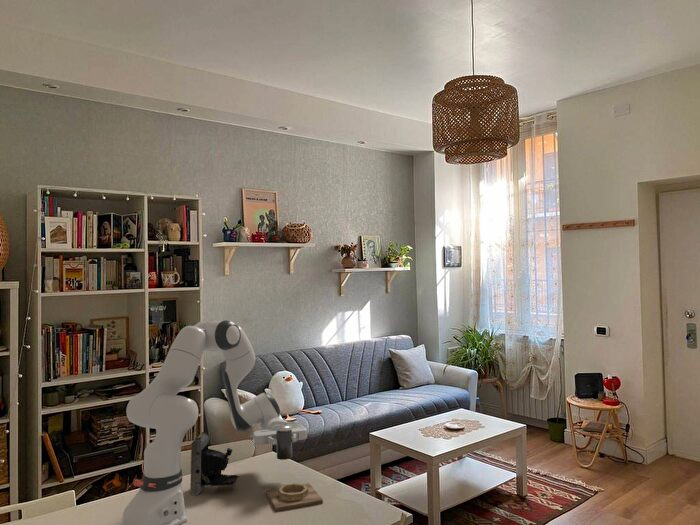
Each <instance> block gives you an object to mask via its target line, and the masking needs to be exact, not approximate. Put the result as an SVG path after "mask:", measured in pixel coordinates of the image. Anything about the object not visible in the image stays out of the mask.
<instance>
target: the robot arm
mask: <svg viewBox="0 0 700 525" xmlns="http://www.w3.org/2000/svg"><path fill="white" fill-rule="evenodd" d="M204 351H206V352H207V351H208V352H209V351H210V352H217V351H218V352H219V351H221V352H222V355H223V356H224V359H225V363H226V366H225V370H224V372H223V373H222V381H223V386H224V390H225V394H226V395H225V396H226V398H227V404H228V408H229V412H230V413H229V414H230V420H231V423H232V426H233V427H234V429H235V430H236V431H239V432H247V431H249V430H250V429H252V428H253V427H255V426H256V425H257V426H258V429H259V430H255V431H253V433H251V434H249V437H250V438H251V439H252V441H253V444H254V445H255V446H262V445H269V444H270V445H273V446H277V439H276V426H278V425H291V426H292V443H297V441H301V440H303V441H304V440H306V439H307V438H308V430H307V428H306V427H305V426H304V425H302V424H301V423H299V422H298V420H285V419H281V418H280V415H281V409H280V407H279V406H280V405H279V403H278V402H277V400H276V399H275V398H274V397H273V396H272V394H270V393H269V392H268V393H267V392H261V393H260V394H258V395H256V396H254V397H253V398H251V399H250V400H248V401H246V402H244V403H240V398H239V393H238V387H239V385H240V383H241V382H242V381H243V380H244V379H245V377H247V375H248V374H249V373H250V372H251V371H252V370H253V368H254V367H255V363H256V359H257V358H256V353H255V350H254V348H253V345H252V343H251V342H250V339H249V337H248V335H247V334H246V333H245V330H244V329H243V328H242V327H241V326H240V325H237V323H236V322H234V321H231V320H225V319H224V320H215V319H214V320H213V319H212V320H204V321H196V322H194V323H192V324H190V325H186V326H184V327H183V328H181V330H179V332H178V334H177V335H176V337H175V339H174V340H173V342H172V343H171V346H170V348H169V350H168V353H167V355H166V356H165V359H164V361H163V362H162V363H163V364H162V365H161V368H160V370H159V371H158V372H157V374H156V376H155V377H154V379H153V380H152V381H151V382H150V383H149V384H148V385H147V386H146V387H145V388H144V389H143V390H141V392H139V393H137V394H135V395H134V396H132V397H130V399H129V401H128V403H127V406H126V408H125V409H126V418H127V419H128V421H129V422H130V423H132V424H134V425H136V426H138V427H141V428H147V429H155V432H156V433H155V438H154V440H153V441H152V442H150V443H149V444H147V446H146V447H145V448H144V452H143V456H144V458H143V459H144V460H143V466H144V467H143V468H144V469H143V470H144V472H143V475H142V478H141V479H138V478H136V479H134V481H133V486H134V487H139V490H138V491H137V492H136V493H135V495H134V496H133V497H132V499H131V500H130V502H128V504H127V505H126V506H125V508H124V509H123V512H122V520H121V522H120V523H119V524H118V525H181V524H183V523H185V522H186V521H188V516H187V510H186V507H185V499H184V493H183V492H184V491H183V489H182V481H183V470H182V468H181V462H182V461H181V458H182V456H181V455H182V444H183V441H184V438H185V436H186V434H187V432H188V431H189V430H190V429H191V428H193V427H194V425H196V422H197V421H198V418H199V407H198V405H197V402H196V401H195V400H193V399H191V398H188V397H186V396H184V395H178V393H180V391H182V390H183V389H185V388H187V387H188V386H190V385H191V384H192V382H193V381H194V379H195V376H196V374H197V371H198V368H199V367H200V363H201V361H202V359H203V354H204V353H205V352H204Z"/></svg>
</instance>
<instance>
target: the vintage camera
mask: <svg viewBox="0 0 700 525" xmlns="http://www.w3.org/2000/svg"><path fill="white" fill-rule="evenodd" d="M209 439H210V436H209V434H208V433H207V432H204V431H201V433H200V434H199V435H198V436H197V437H196V438H194V440H193V441H192V443H191V445H190V446H191V450H190V451H191V454H190V493H191V495H192V496H198V495H199V494H200V493H201V492H202V491H203V489H204V488H205V487H218V486H219V487H221V486H232V491H234V486H235V484H236V483H237V481H238V479H239V478H240V475H238V474H223V473H222V471H223V472H224V471H226V468H227V467H228V464H229V460H230V458H229V457H230V456H231V455H232V452H233V448H230V447H228V448H226V452H225V453H224V452H222V451H219V450H215V449H211V448H209V442H210V440H209Z"/></svg>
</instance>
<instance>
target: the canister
mask: <svg viewBox="0 0 700 525" xmlns="http://www.w3.org/2000/svg"><path fill="white" fill-rule="evenodd" d="M276 439H277V444H276V459H277V460H279V461H280V460H281V461H283V460H285V461H287V460H290V459H292V458H293V442H292V426H291V425H278V426H276Z"/></svg>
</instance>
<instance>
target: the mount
mask: <svg viewBox="0 0 700 525" xmlns="http://www.w3.org/2000/svg"><path fill="white" fill-rule="evenodd" d="M265 495H266V496H267V499H268V500H269V502H270V503H271V505H272V507H273V509H274V511H275V512H279V511H280V512H281V511H287V510H291V509H298V508H304V507H308V506H314V505H318V504H319V505H320V504H323V503H324V502H323V501H324V500H323V498H322V497H321V496H320V494H319V493H318V492H317V491H316V490H315V488H314V487H313V486H312V484H310V483H309V482H307V483H306V482H305V483H296V482H293V483H287V484H283V485H282V486H280V487H275V488H270V489H265Z"/></svg>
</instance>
